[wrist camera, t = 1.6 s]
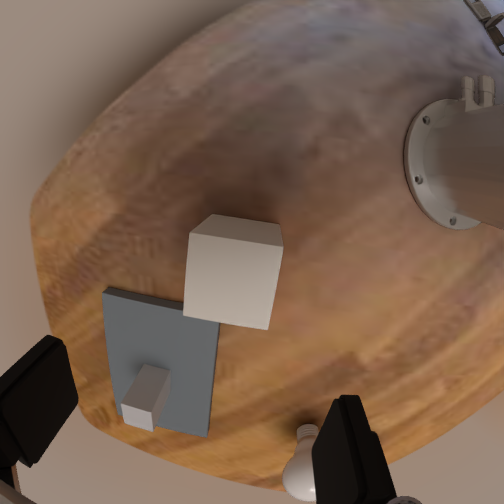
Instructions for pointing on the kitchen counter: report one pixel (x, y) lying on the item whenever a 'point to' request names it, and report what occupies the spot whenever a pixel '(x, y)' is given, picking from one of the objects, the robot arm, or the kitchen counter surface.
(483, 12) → the strap clip
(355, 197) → the kitchen counter surface
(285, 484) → the lightbulb
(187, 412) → the post board
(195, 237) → the cream block
